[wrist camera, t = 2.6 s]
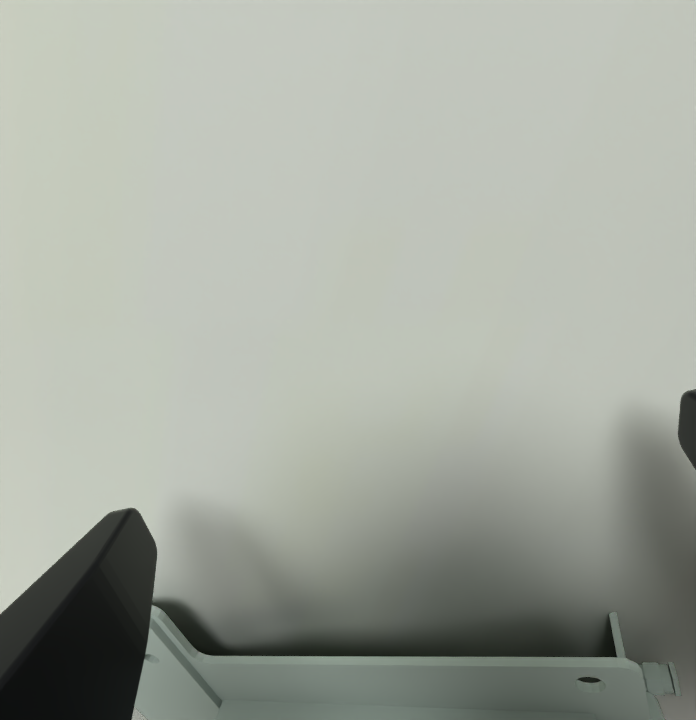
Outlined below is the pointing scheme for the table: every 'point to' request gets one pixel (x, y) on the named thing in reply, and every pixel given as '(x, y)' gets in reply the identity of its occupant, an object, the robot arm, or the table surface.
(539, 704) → the metal bracket
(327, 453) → the table surface
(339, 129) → the table surface
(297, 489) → the table surface
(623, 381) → the table surface
